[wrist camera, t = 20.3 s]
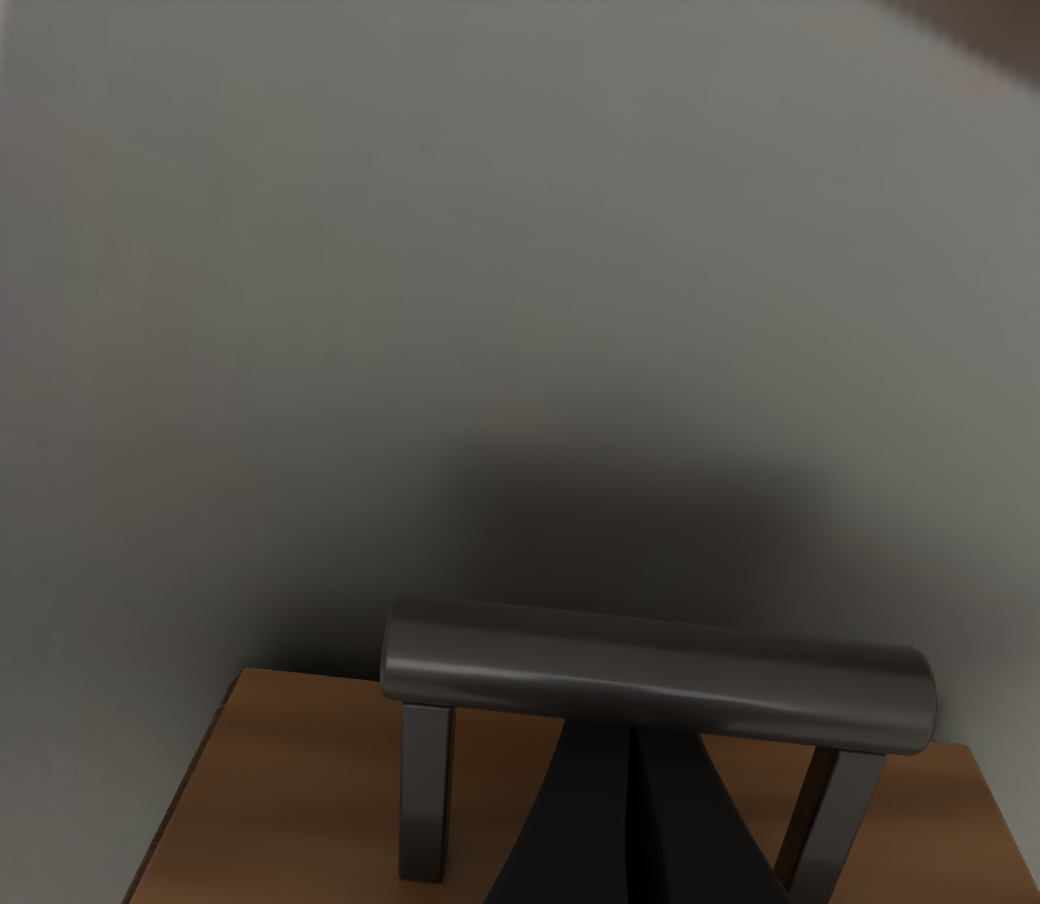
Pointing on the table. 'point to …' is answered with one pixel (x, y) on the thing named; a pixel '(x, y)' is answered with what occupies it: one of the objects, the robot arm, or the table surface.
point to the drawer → (531, 744)
